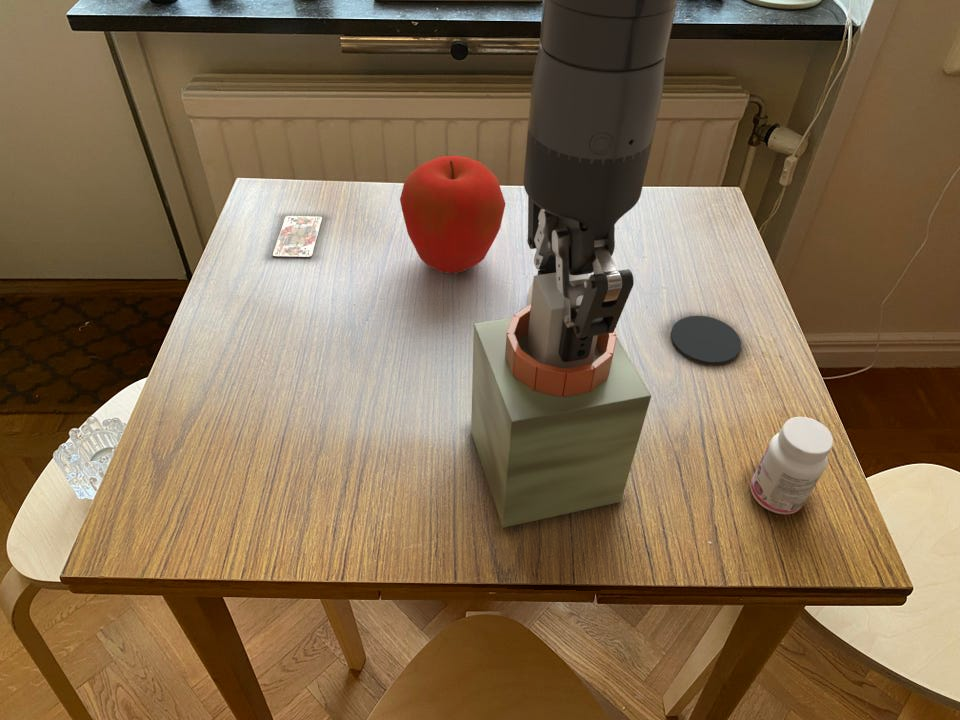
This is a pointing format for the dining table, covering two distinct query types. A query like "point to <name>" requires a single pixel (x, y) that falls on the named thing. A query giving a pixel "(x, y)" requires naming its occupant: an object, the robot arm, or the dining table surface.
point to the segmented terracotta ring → (552, 376)
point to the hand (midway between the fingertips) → (560, 330)
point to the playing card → (298, 236)
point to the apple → (452, 212)
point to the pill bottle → (792, 465)
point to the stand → (552, 433)
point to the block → (551, 322)
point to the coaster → (705, 340)
